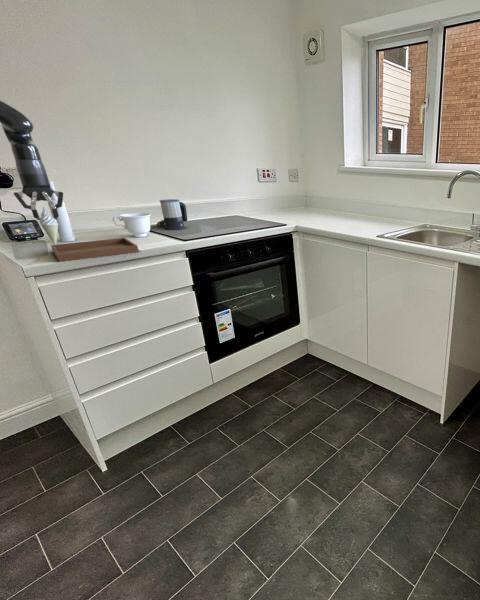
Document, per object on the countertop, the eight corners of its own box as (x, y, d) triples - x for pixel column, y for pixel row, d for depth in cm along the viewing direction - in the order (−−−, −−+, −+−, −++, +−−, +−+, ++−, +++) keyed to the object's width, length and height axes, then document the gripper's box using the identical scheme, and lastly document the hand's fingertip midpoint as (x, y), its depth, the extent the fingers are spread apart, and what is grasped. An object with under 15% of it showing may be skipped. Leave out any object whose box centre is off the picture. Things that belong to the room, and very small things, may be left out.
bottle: (76, 239, 158) (58, 180, 148) (75, 241, 154) (57, 181, 145) (60, 240, 154) (41, 180, 145) (59, 242, 151) (40, 181, 142)
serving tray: (59, 261, 124) (57, 254, 123) (52, 251, 136) (50, 245, 135) (138, 251, 141) (137, 245, 140) (126, 243, 153) (125, 237, 152)
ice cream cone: (47, 244, 140) (35, 206, 135) (64, 243, 143) (53, 205, 138) (46, 246, 137) (34, 207, 132) (63, 245, 140) (52, 207, 135)
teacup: (116, 235, 167) (110, 214, 163) (153, 232, 176) (148, 212, 172) (118, 240, 158) (112, 217, 155) (157, 236, 168) (152, 215, 164)
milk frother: (180, 230, 185) (174, 201, 179) (148, 229, 183) (141, 200, 177) (191, 225, 198) (186, 198, 193) (161, 225, 196) (155, 197, 190)
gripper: (57, 172, 138) (70, 216, 144) (4, 171, 128) (20, 219, 134) (59, 173, 133) (72, 219, 139) (4, 172, 123) (21, 221, 129)
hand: (47, 218), depth 136 cm, fingers closed on ice cream cone, 4 cm apart
